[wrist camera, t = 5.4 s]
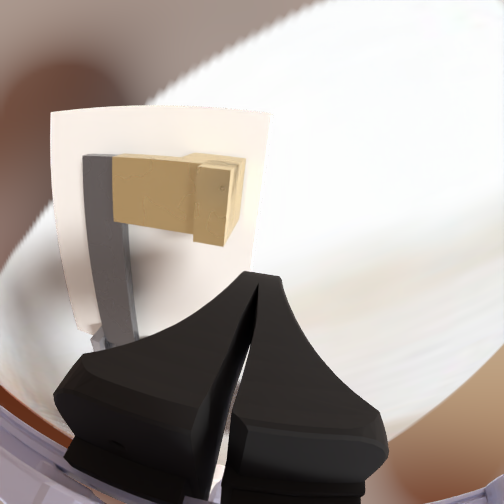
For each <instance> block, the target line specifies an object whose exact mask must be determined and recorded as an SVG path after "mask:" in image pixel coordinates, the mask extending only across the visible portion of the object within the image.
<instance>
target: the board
mask: <svg viewBox="0 0 504 504" xmlns="http://www.w3.org/2000/svg"><path fill="white" fill-rule="evenodd" d="M272 119H273V114H272V113H265V112H257V111H248V110H238V109H227V108H214V107H197V106H158V105H153V106H116V107H99V108H86V109H75V110H66V111H58V112H51V126H50V127H51V128H50V129H51V131H50V149H51V150H50V152H51V153H50V155H51V177H52V178H51V179H52V191H53V192H52V193H53V204H54V213H55V222H56V229H57V236H58V243H59V249H60V255H61V260H62V265H63V271H64V275H65V280H66V285H67V289H68V293H69V298H70V302H71V306H72V310H73V313H74V317H75V321H76V324H77V328H78V330H81V331H83V332H86V333H89V334H91V335H94V336H93V337H92V338H91V339H90V340H91V343H92V346H93V350H94V352H96V351H100V350H105V342H106V340H105V336H104V332H103V328H102V323H101V319H100V314H99V309H98V304H97V299H96V294H95V288H94V283H93V277H92V270H91V264H90V256H89V249H88V241H87V231H86V221H85V209H84V193H83V164H82V156H83V155H87V154H118V155H120V154H124V153H126V154H145V155H160V156H172V157H184V156H187V155H189V154H192V153H204V154H213V155H222V156H231V157H239V158H246V164H245V173H244V181H243V190H242V199H241V208H240V216H239V220H238V222H237V224H236V226H235V227H234V229H233V231H232V233H231V234H230V236H229V238H228V240H227V242H226V243H225V245H224V247H221V246H215V245H209V244H204V243H198V242H193V234H187V233H181V232H175V231H169V230H163V229H157V228H151V227H145V226H138V225H132V224H128V229H129V247H130V262H131V273H132V284H133V294H134V302H135V311H136V318H137V325H138V332H139V339H143V338H145V337H148V336H151V335H153V334H155V333H157V332H160V331H162V330H164V329H166V328H168V327H170V326H173V325H175V324H177V323H178V322H180V321H182V320H184V319H185V318H187V317H188V316H190V315H192V314H193V313H195V312H196V311H198V310H199V309H200V308H202V307H203V306H204V305H206V304H207V303H208V302H210V301H211V300H212V299H214V298H215V297H216V296H217V295H218V294H220V293H221V292H222V291H223V290H224V289H225V288H226V287H228V286H229V285H230V284H231V283H232V282H233V281H234V280H235V279H236V278H237V277H238V276H239V275H240V273H242V272H243V271H249V272H252V266H253V258H254V251H255V244H256V237H257V229H258V222H259V215H260V207H261V200H262V193H263V185H264V178H265V170H266V163H267V156H268V148H269V141H270V133H271V126H272Z"/></svg>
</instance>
